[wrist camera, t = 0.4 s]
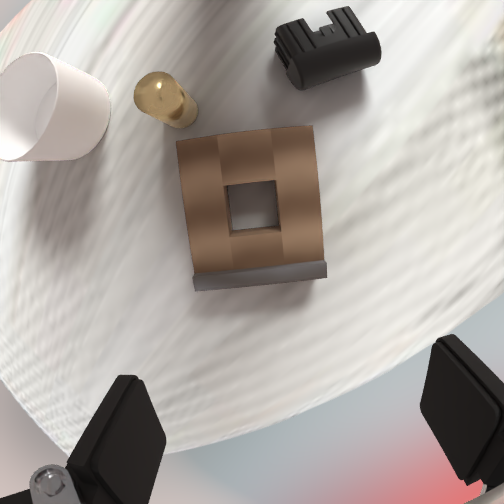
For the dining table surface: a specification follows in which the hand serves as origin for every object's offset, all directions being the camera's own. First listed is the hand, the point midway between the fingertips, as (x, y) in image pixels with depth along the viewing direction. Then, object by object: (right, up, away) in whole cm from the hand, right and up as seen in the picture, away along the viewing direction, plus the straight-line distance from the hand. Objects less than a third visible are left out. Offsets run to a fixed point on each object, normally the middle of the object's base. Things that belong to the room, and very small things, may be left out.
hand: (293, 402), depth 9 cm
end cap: (+7, +27, +23) cm, 36 cm away
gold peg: (-9, +21, +24) cm, 33 cm away
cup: (-25, +22, +24) cm, 41 cm away
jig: (-1, +10, +27) cm, 29 cm away
